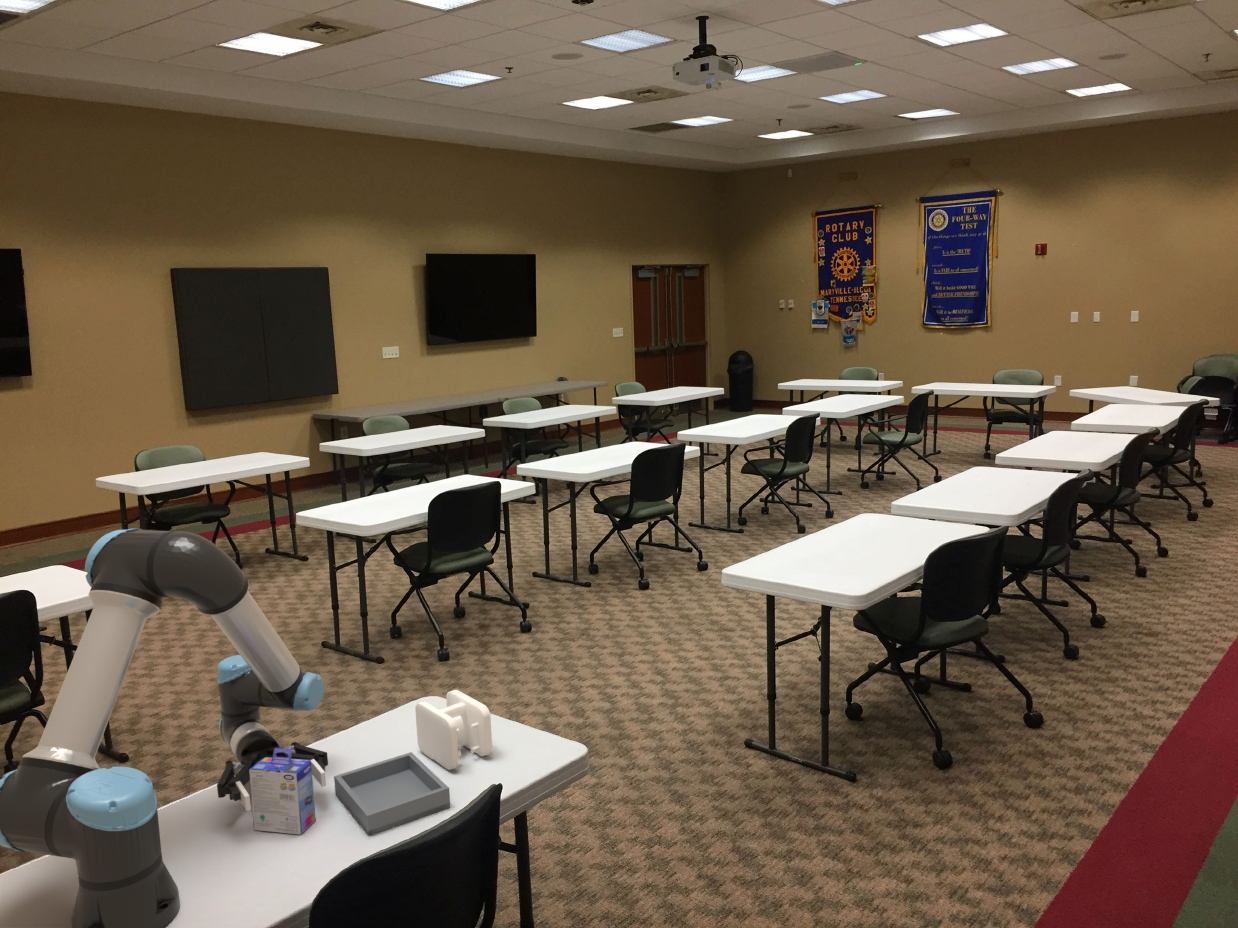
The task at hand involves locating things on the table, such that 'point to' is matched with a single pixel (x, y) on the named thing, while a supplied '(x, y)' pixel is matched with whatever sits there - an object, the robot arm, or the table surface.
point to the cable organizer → (453, 729)
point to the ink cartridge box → (282, 794)
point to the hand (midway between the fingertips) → (286, 791)
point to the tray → (391, 793)
